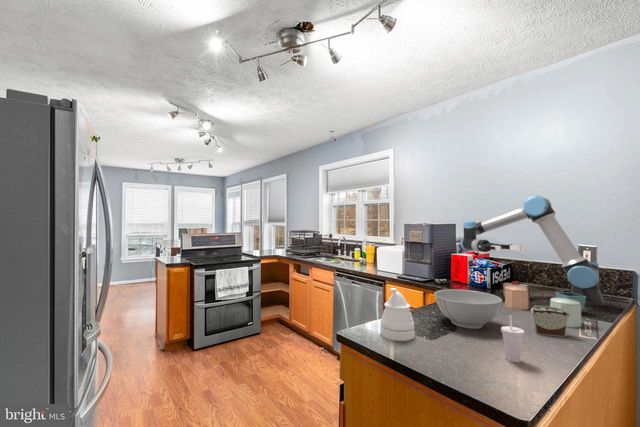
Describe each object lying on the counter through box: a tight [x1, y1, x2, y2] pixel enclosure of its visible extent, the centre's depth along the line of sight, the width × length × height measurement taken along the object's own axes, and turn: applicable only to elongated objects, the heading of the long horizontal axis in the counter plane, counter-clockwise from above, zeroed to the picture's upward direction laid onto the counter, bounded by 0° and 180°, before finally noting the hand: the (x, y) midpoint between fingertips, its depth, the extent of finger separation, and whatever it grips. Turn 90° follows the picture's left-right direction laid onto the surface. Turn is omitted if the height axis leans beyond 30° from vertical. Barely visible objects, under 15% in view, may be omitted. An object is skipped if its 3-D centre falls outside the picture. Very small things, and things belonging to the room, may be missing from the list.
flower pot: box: [555, 291, 586, 313], centre depth 150 cm, size 9×9×9 cm
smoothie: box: [500, 315, 525, 363], centre depth 97 cm, size 6×6×14 cm
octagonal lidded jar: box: [504, 286, 529, 311], centre depth 159 cm, size 10×10×10 cm
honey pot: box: [380, 287, 415, 342], centre depth 119 cm, size 13×13×18 cm
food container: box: [531, 305, 569, 338], centre depth 121 cm, size 12×6×10 cm, turn 71°
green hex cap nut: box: [549, 297, 582, 328], centre depth 133 cm, size 10×10×10 cm
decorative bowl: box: [433, 288, 503, 330], centre depth 132 cm, size 27×27×12 cm
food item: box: [502, 280, 531, 301], centre depth 179 cm, size 14×8×10 cm, turn 49°
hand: (510, 248), depth 169 cm, fingers open, 13 cm apart
